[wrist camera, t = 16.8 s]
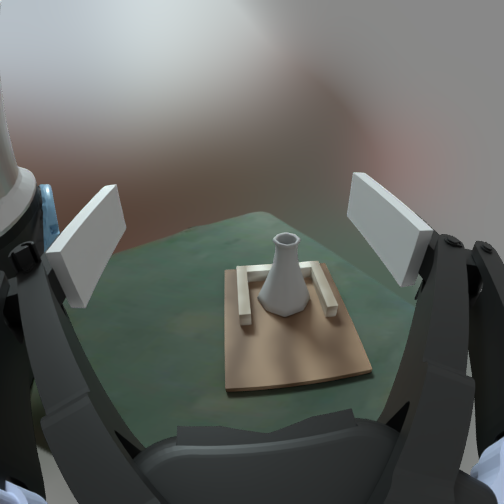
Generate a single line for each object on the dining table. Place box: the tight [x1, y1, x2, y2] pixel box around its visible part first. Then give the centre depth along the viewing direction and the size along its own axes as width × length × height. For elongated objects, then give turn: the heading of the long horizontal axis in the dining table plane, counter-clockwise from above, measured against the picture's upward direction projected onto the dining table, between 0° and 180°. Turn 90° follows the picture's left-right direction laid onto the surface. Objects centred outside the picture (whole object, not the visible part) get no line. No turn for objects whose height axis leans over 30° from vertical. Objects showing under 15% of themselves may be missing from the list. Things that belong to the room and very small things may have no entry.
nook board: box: [225, 261, 372, 392], centre depth 37 cm, size 17×22×3 cm
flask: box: [257, 232, 310, 317], centre depth 37 cm, size 7×7×10 cm
